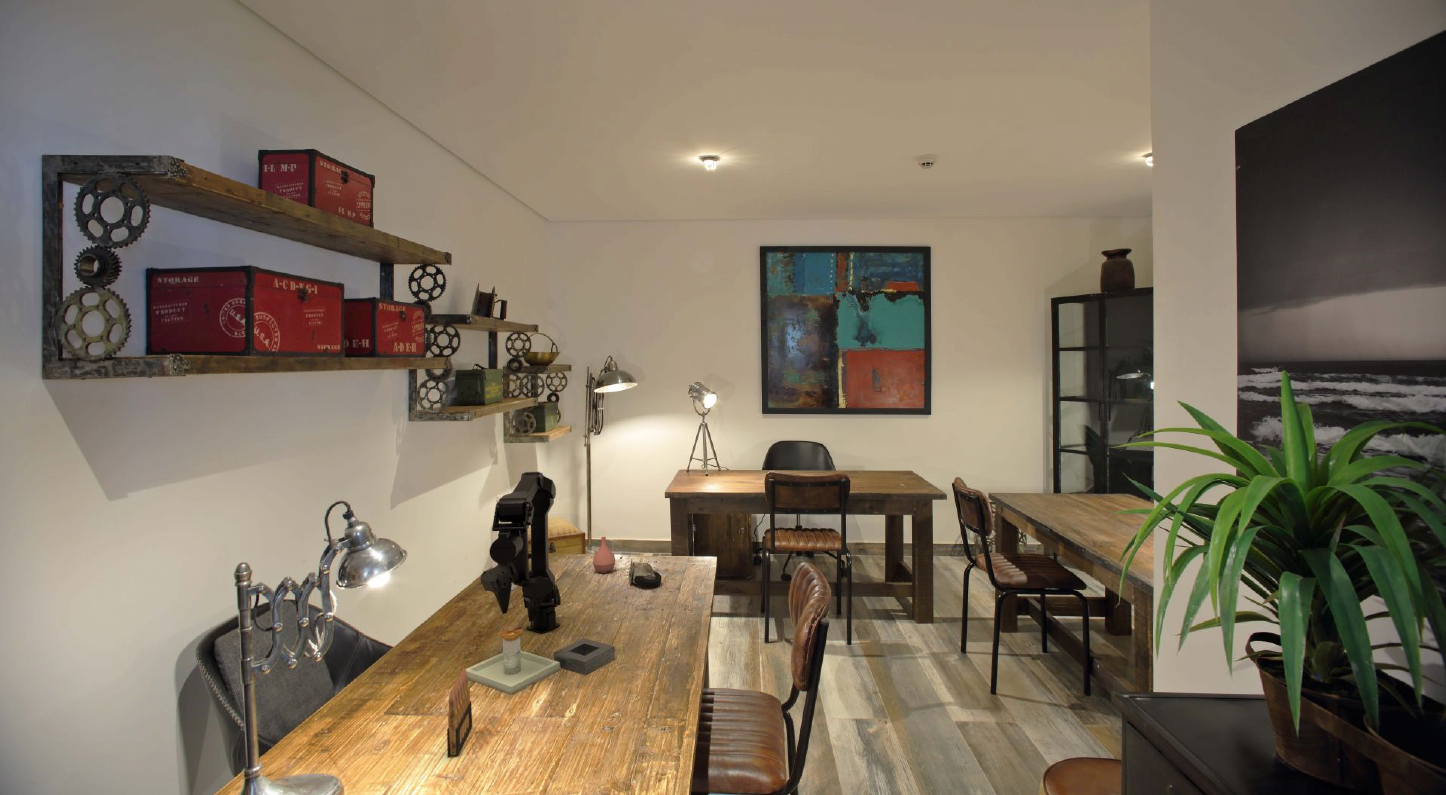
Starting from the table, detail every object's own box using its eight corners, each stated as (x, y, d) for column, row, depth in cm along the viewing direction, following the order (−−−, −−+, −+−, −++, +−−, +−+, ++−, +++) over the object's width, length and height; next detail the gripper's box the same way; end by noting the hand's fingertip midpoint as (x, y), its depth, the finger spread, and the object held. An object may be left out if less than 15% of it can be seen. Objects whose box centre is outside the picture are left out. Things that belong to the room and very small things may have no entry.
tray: (464, 677, 153) (463, 670, 153) (513, 655, 164) (513, 647, 164) (511, 695, 144) (511, 687, 144) (559, 669, 156) (559, 662, 156)
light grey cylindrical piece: (496, 673, 153) (494, 632, 153) (513, 664, 158) (512, 624, 157) (511, 678, 151) (509, 636, 150) (528, 669, 155) (527, 628, 155)
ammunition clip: (462, 726, 132) (460, 666, 131) (472, 725, 132) (470, 665, 131) (447, 757, 121) (445, 692, 121) (458, 757, 121) (455, 691, 121)
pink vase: (610, 575, 227) (609, 540, 226) (589, 574, 228) (588, 539, 228) (618, 569, 234) (618, 535, 234) (598, 568, 236) (597, 534, 235)
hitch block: (554, 665, 158) (553, 652, 158) (584, 650, 167) (583, 638, 167) (585, 675, 153) (584, 662, 153) (614, 658, 161) (614, 646, 161)
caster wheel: (660, 596, 213) (629, 594, 211) (656, 578, 224) (626, 576, 222) (664, 577, 212) (632, 575, 209) (659, 560, 222) (629, 558, 220)
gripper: (459, 554, 154) (462, 621, 155) (514, 566, 144) (517, 638, 144) (499, 542, 163) (502, 605, 164) (554, 553, 153) (556, 620, 154)
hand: (517, 617), depth 156 cm, fingers open, 9 cm apart
